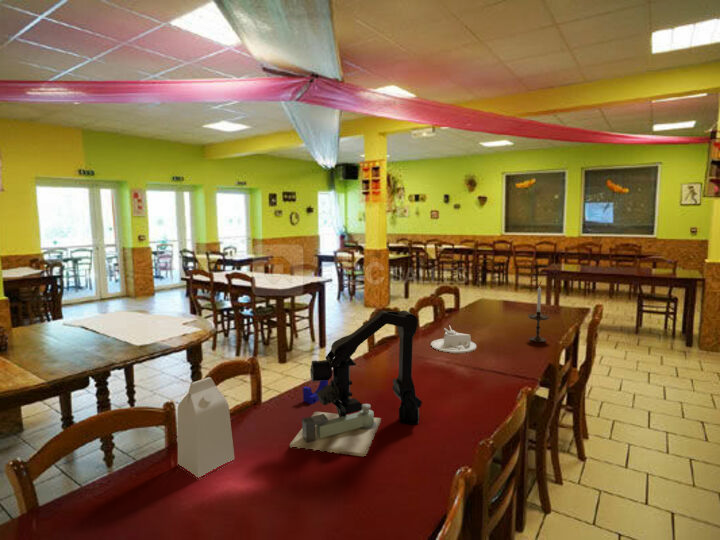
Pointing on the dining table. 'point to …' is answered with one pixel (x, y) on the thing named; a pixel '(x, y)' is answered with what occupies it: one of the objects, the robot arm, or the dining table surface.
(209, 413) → the milk
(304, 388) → the cable clip
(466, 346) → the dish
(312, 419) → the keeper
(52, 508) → the dining table surface
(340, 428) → the latch bar
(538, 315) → the candlestick
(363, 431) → the base board
